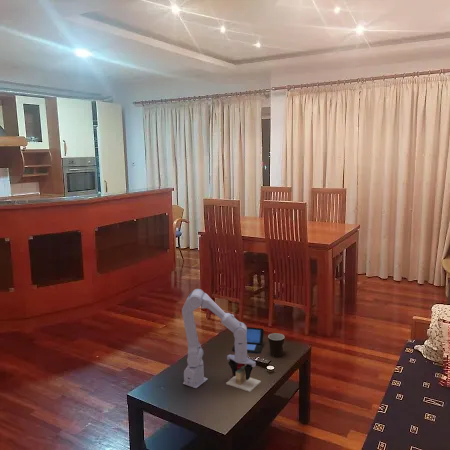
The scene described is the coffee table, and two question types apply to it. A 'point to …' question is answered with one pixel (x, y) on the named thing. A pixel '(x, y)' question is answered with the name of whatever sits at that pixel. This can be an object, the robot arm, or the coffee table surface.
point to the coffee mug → (276, 344)
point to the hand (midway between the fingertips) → (241, 377)
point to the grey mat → (244, 384)
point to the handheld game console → (254, 340)
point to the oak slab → (240, 376)
